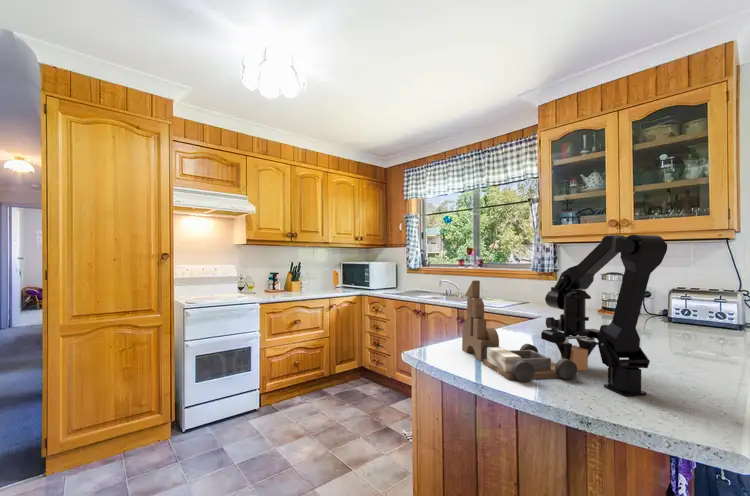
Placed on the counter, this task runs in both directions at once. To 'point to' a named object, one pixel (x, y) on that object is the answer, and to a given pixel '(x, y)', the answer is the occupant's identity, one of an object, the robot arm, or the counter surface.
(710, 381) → the counter surface
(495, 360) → the chassis
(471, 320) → the wooden toy
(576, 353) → the orange block
